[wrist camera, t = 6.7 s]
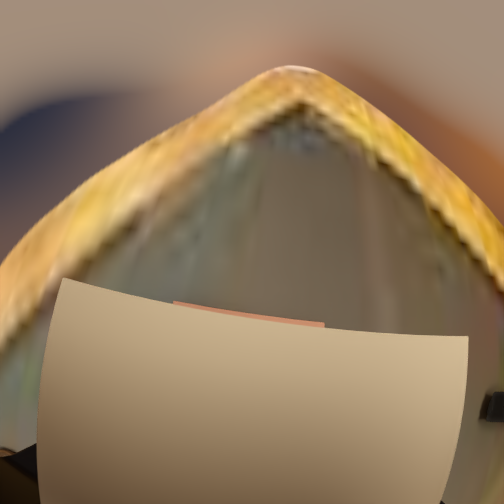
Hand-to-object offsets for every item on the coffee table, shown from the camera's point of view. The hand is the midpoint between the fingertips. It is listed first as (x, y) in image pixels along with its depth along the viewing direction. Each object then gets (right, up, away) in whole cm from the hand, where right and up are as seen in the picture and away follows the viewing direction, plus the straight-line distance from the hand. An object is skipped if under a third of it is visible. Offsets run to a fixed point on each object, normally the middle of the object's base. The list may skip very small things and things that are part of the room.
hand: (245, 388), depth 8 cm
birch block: (-1, -4, +6) cm, 7 cm away
